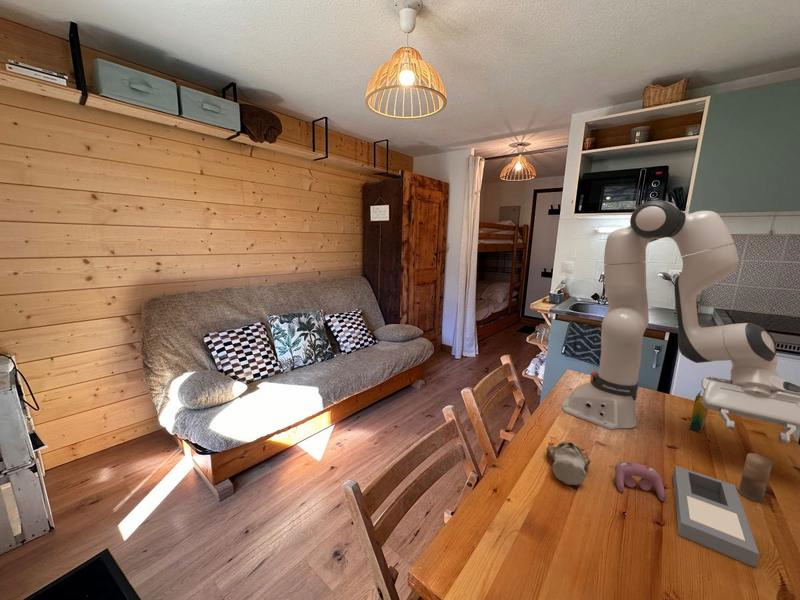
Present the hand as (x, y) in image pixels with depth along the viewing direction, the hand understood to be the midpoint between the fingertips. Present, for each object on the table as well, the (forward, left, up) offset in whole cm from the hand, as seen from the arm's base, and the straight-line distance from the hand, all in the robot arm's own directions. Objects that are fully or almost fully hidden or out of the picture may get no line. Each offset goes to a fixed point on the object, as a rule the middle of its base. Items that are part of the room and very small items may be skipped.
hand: (756, 434), depth 81 cm
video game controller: (-22, -22, -13) cm, 34 cm away
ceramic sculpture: (-37, -26, -13) cm, 47 cm away
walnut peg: (0, -7, -13) cm, 15 cm away
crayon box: (-7, +25, -13) cm, 29 cm away
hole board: (-9, -21, -13) cm, 26 cm away
